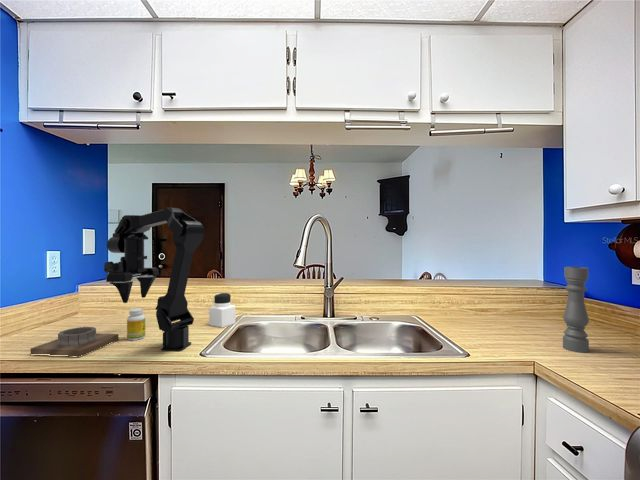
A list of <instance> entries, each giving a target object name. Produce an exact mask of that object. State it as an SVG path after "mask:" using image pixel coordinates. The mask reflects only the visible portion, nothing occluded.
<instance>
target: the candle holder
mask: <svg viewBox="0 0 640 480" xmlns="http://www.w3.org/2000/svg"><path fill="white" fill-rule="evenodd" d="M563 269H564V275H563V277H564V278H565V281H566V283H567V285H566V286H565V287H564V289H566V290H567V302H566V306H565V310H564V311H563V316H562V318H563V321H564V323H565V324H566V327H567V328H566V329H565V330H564V331H563V334H564V335H562V348H563V349H565V350H567V351H569V352H574V353H580V354H581V353H583V354H587V353H589V352H590V349H589V348H590V344H589V343H590V341H589V339H588V337H589V335H588V333H587V332H586V330H585V329H586V327H587V325H588V324H589V322H590V319H589V315H588V312H587V311H588V310H587V308H586V304H585V292H587V291H588V288H587V287H586V286H585V285H586V283H587V282H588V279H589V267H584V266H564V268H563Z"/></svg>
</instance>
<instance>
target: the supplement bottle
mask: <svg viewBox="0 0 640 480" xmlns="http://www.w3.org/2000/svg"><path fill="white" fill-rule="evenodd" d="M128 314H129V316H128V317H127V318H126V339H127V340H128V341H139V340H138V339H140V340H143V339H145V337H146V320H147V319H146V316H145V315H144V309H143V308H140V307H138V308H132V309H129V313H128ZM142 338H143V339H142Z"/></svg>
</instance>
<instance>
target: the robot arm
mask: <svg viewBox="0 0 640 480" xmlns="http://www.w3.org/2000/svg"><path fill="white" fill-rule="evenodd" d="M164 224H167V228H168V229H169V230H170V232H172V241H173V243H174V246H175V249H176V250H175V253H174V259H173V263H172V267H171V273H170V278H169V282H168V286H167V291H166V294H164V295H163V296H158V298H157V302H156V303H157V304H156V307H155V310H156V311H155V317H156V321H157V324H158V329H159V330H160V331H162V347H160V351H178V352H180V351H182V350H184V349H186V348H187V347H189V346H190V345H192V341H189V340H190V339H189V336H190V333H189V326H191V325H192V326H193V325H194V320H195V318H194V316H193V315H192V313H191V312H190V311H189V309H188V301H187V297H186V294H185V293H186V289H187V284H188V281H189V276H190V270H191V265H192V260H193V256H194V252H195V251H196V250H197V248H198V247H199V246H200V245H201V243H202V241H203V238H204V235H205V231H206V230H205V227H204V226H203V224H202V223H201V221H198V220H196V218H194V217H193V216H191V215H188V214H186V213H185V211H183V210H182V209H181V208H178V207H165V208H164V209H161V210H157V211H153V212H149V213H146V214H142V215H138V214H137V215H135V214H134V215H133V214H132V215H129V214H125V215H123V216H122V217H121V219H119V222H118V225H117V227H115V230H114V232H113V233H112V236H111V237H110V238H109V239H108V240H107V242H106V249H107V250H108V251H109V253H111V254H112V253H113V254H114V253H115V254H124V255H123V256H121V257H120V261H118V262H114V261H107V262H104V264H103V266H104V267H103V269H104V270H103V271H104V273H107V274H106V276H105V282H106V283H109V284H110V285H113V286H114V287H115V288H116V289H117V291H118V293H119V296H120V299H121V300H122V303H123V304H127V303H128V302H129V298H130V296H131V295H130V294H131V291H132V286H133V283H134V281H133V278H136V279H137V280H138V282H139V286H140V287H139V288H140V295H141V298H143V299H144V298H146V297H147V295H148V293H149V291H150V289H151V287H152V285H153V283H154V281H155V280H156V279H157V276H160V270H159V269H158V267H145V260H147V259H148V256H147V255H145V240H149V237H148V236H147V235H146V234H145V233H146V232H148V231H150V230H151V228H153V227H156V226H160V225H164Z"/></svg>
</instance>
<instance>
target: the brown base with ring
mask: <svg viewBox="0 0 640 480" xmlns="http://www.w3.org/2000/svg"><path fill="white" fill-rule="evenodd" d="M116 340H118V341H119V334H118V333H99V332H97V328H96V327H95V326H82V327H81V326H80V327H73V328H69V329H64V330H61V331H60V332H57V339H54V340H52V341H49V342H46V343H43V344H40V345H37V346H35V347H31V348H30V355H31V354H50V355H68V356H81V355H84V354H86V353H89V352H91V351H93V352H95V351H97V350H99V349H98V348H100V347H102V348H104V347H106V346H108V345H107V344H109V343H111V342H113V343H115V342H117V341H116ZM114 341H115V342H114ZM111 344H112V343H111ZM105 345H106V346H105ZM109 345H110V344H109ZM103 346H104V347H103ZM96 349H97V350H96ZM100 349H101V348H100ZM94 350H95V351H94ZM91 353H92V352H91ZM89 354H90V353H89ZM86 355H87V354H86ZM84 356H85V355H84Z"/></svg>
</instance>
